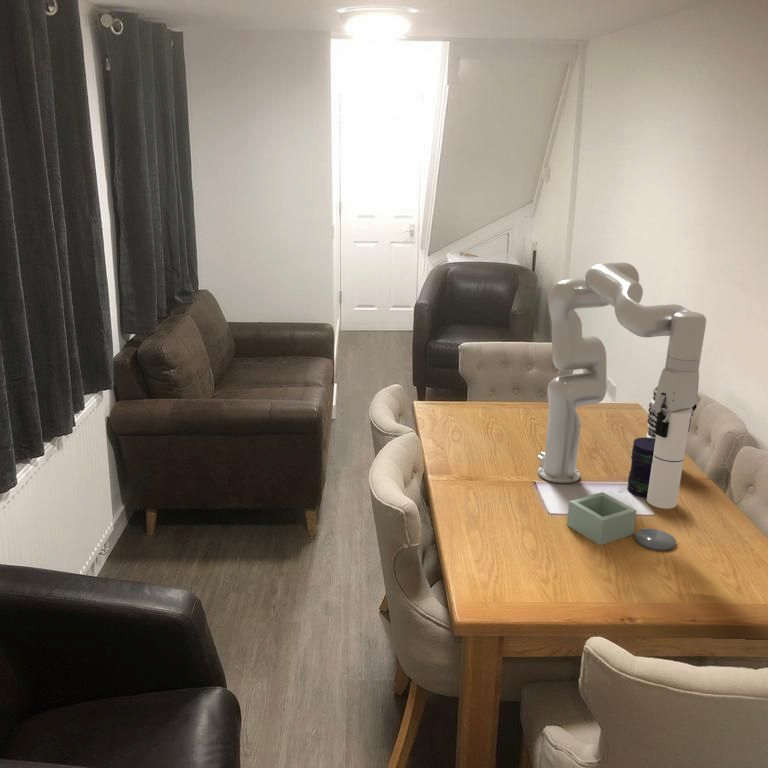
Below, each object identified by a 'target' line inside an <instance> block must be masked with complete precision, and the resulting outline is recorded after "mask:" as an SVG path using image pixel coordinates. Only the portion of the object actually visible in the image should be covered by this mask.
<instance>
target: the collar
mask: <svg viewBox="0 0 768 768" xmlns="http://www.w3.org/2000/svg"><path fill="white" fill-rule="evenodd" d="M567 511H568V512H567V518H566V526H568V527H569V528H571V529H572V530H573V531H575V532H577V533H579V534H580V535H582V536H584V537H586V538H587V539H588V540H590V541H591V542H593V543H595V544H597V545H598V546H602V545H605V544H608V543H611V542H614V541H618V540H620V539H624V538H626V537H629V536H633V535H634V531H635V525H636V517H637V510H636V509H635V508H633V507H631V506H629V505H627V504H626V503H623V502H622V501H620V500H618V499H616V498H615V497H613V496H611V495H609V494H607V493H605V492H603V491H601V492H598V493H595V494H594V493H593V494H590V495H587V496H583V497H579V498H576V499H573V500H569V501H568V508H567Z"/></svg>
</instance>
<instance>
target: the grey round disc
mask: <svg viewBox="0 0 768 768" xmlns="http://www.w3.org/2000/svg"><path fill="white" fill-rule="evenodd" d="M634 540H635V542H636V543H637V544H638V545H640V546H641V547H643V548H646V549H649V550H652V551H656V552H659V551H660V552H666V551H667V552H668V551H671V550H674V548H676V544H677V540H676V538H675V537H674V536H673V535H672V534H670V533H668V532H666V531H663V530H660V529H656V528H655V529H654V528H642V529H639V530H636V532H635V533H634Z"/></svg>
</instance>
